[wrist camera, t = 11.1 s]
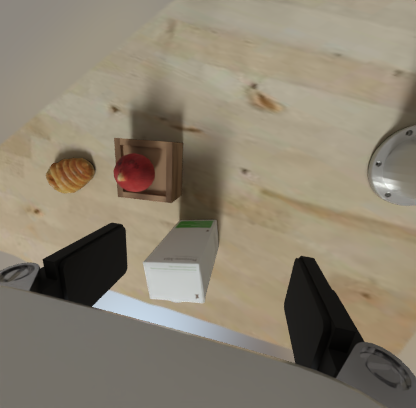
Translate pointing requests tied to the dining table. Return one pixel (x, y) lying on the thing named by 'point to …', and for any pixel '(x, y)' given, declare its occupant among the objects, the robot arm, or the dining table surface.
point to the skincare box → (183, 262)
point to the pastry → (70, 174)
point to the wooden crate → (155, 168)
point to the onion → (134, 172)
